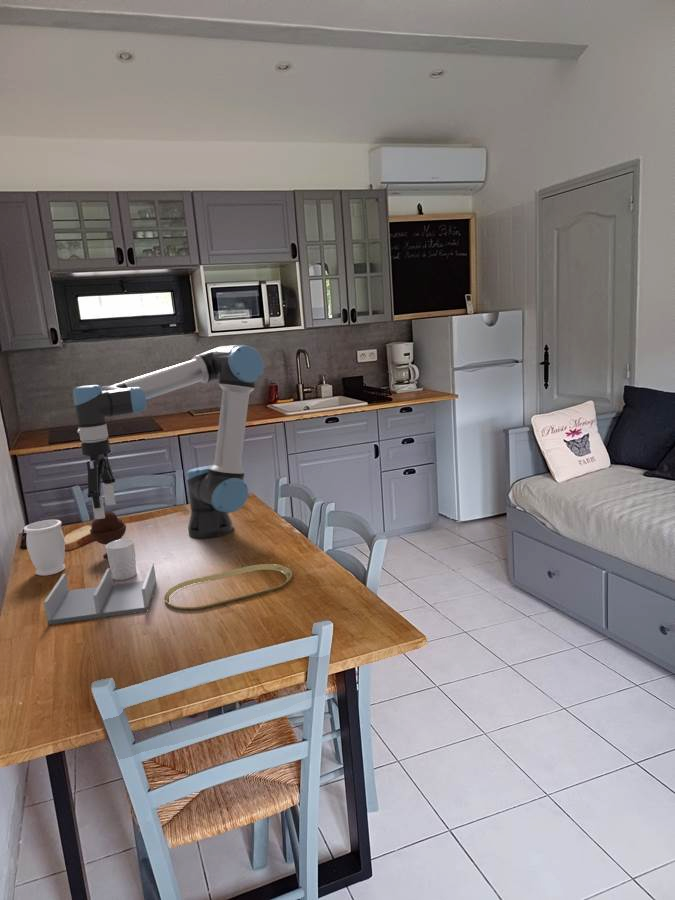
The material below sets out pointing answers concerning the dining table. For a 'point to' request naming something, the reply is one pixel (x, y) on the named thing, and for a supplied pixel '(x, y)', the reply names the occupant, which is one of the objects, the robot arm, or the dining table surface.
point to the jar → (46, 546)
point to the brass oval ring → (227, 574)
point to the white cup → (121, 558)
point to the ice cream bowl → (107, 529)
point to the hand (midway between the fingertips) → (105, 511)
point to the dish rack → (99, 599)
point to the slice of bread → (78, 538)
